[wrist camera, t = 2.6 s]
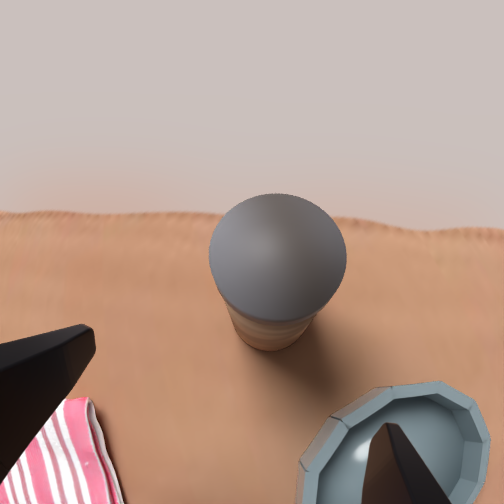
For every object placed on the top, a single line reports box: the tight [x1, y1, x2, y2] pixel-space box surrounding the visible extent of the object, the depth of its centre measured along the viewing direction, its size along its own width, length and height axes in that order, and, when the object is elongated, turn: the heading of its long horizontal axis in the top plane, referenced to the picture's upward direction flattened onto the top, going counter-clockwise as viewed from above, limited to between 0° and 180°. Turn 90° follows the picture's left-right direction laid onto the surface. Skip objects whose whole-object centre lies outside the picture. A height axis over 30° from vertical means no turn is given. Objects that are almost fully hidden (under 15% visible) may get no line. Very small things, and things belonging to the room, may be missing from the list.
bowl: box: [295, 381, 491, 504], centre depth 14 cm, size 14×14×3 cm
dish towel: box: [0, 397, 124, 504], centre depth 13 cm, size 17×23×4 cm
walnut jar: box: [209, 194, 346, 351], centre depth 17 cm, size 5×5×10 cm
